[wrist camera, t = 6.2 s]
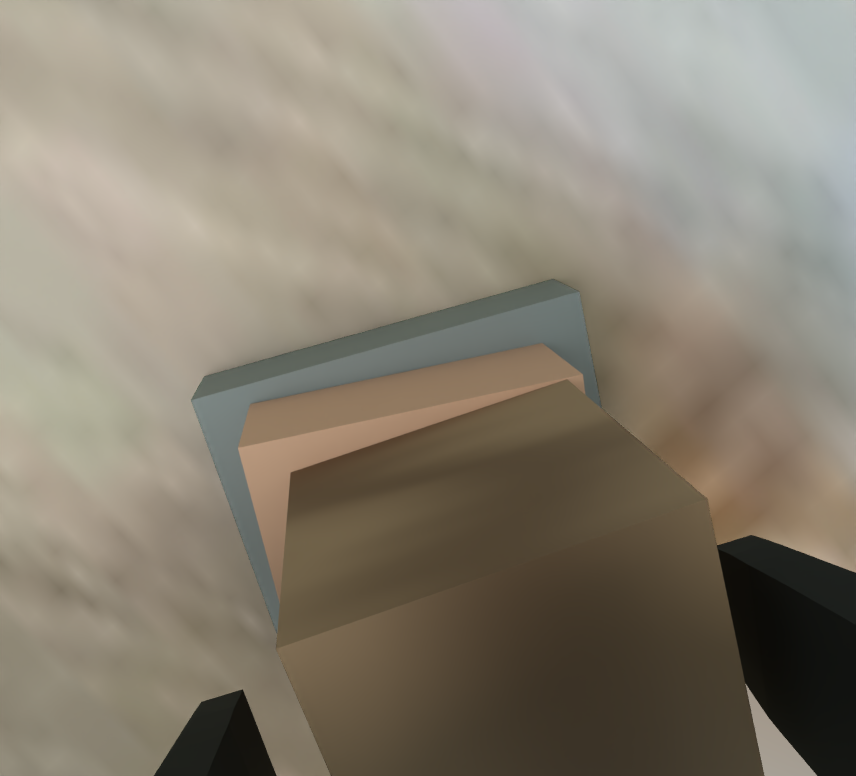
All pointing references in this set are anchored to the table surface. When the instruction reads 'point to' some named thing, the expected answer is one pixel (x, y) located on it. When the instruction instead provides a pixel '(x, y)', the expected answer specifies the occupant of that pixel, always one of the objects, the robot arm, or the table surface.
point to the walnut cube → (512, 604)
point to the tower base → (375, 357)
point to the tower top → (373, 421)
